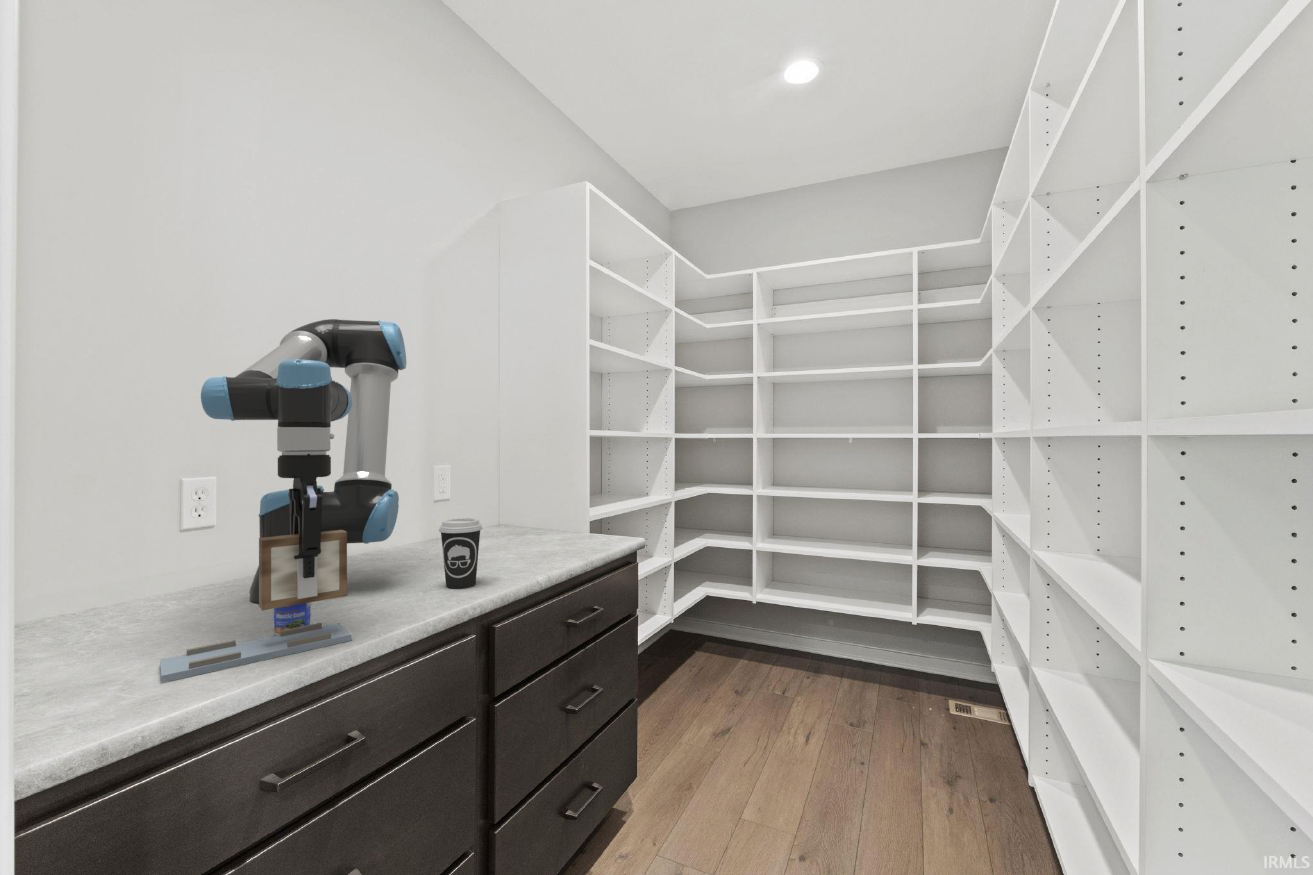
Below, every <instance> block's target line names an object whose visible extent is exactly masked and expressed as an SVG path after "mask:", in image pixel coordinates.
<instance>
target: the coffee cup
mask: <svg viewBox="0 0 1313 875" xmlns="http://www.w3.org/2000/svg"><path fill="white" fill-rule="evenodd" d="M438 528H439V529H438V532H439V533H440V536H441V545H442V546H441V547H442V555H443V556H442V558H443V566H444V567H443V568H444V578H445V588H447V589H450V590H451V589H453V590H462V589H468V588H472V587H474V586H476V585H477V584H476V583H477V574H478V573H477V572H478V563H479V562H478V560H479V549H480V540H481V539H480V537H481V531H482V530H483V525H482V524H481V523H480V520H479V519H478V518H473V517H472V518H470V517H460V518H450V519H449V518H448V519H445V520H443V521H442V523H441V525H440V526H439V527H438Z"/></svg>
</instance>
